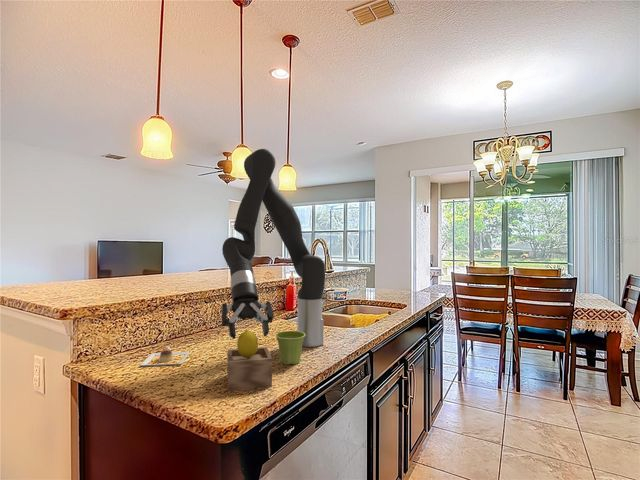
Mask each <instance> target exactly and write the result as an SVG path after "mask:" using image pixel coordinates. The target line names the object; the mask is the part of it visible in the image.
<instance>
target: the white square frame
mask: <svg viewBox="0 0 640 480" xmlns="http://www.w3.org/2000/svg"><path fill="white" fill-rule="evenodd" d="M189 353H190V351H175V352H173V351H172V349H171V347H169V346H166V348H165V349H163V350H162V351H160V352H152V353H151V354H150V355H148V357H147V358H146V359H145V360H143V362H141V364H139V367H154V366H155V367H156V366H157V367H159V366H179V365H182V364H183V363H184V362H185V360H186V358H187V356H188V355H189ZM184 354H185V355H184ZM155 355H156V356H155ZM174 356H183V357H182V358H181V360H180V361H179V362H178V363H174V362H173V363H170V362H172V361H174V359H175V358H174ZM155 357H159V358H158V362H160V363H156V364H152V363H151V364H149V363H150V362H151V361H152V359H153V358H155ZM168 362H169V363H168Z"/></svg>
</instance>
